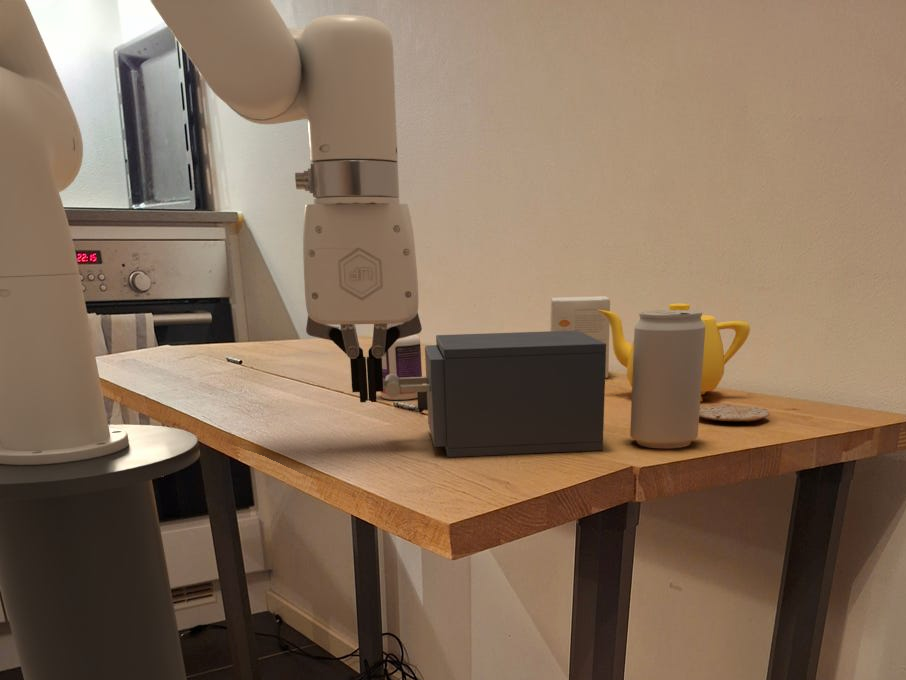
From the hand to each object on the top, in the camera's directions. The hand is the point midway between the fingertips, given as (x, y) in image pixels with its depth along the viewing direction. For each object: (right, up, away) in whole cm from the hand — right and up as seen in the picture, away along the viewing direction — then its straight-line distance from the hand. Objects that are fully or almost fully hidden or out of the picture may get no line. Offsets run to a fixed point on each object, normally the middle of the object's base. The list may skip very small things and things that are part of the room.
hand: (368, 399), depth 87 cm
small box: (+25, +14, +42) cm, 51 cm away
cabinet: (+14, -3, +3) cm, 15 cm away
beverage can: (+28, -4, 0) cm, 29 cm away
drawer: (+11, -3, +2) cm, 11 cm away
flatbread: (+38, +1, +10) cm, 39 cm away
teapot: (+34, +7, +25) cm, 43 cm away
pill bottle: (+1, +8, +29) cm, 30 cm away
